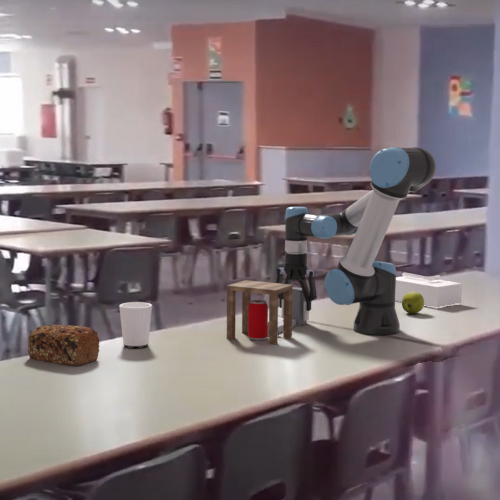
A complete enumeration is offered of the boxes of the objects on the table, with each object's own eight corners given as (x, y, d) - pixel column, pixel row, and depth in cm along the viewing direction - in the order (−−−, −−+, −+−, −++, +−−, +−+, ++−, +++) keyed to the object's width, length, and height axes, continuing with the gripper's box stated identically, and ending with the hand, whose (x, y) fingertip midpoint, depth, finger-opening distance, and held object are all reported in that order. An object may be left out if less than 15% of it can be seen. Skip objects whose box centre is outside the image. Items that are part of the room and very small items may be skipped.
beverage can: (268, 336, 294) (268, 299, 293) (266, 341, 288) (267, 303, 287) (248, 336, 295) (249, 299, 293) (246, 340, 289) (247, 302, 287)
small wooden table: (291, 337, 294) (292, 284, 292) (274, 344, 283) (275, 290, 281) (244, 331, 302) (245, 280, 300) (226, 338, 291) (226, 285, 289)
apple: (427, 312, 336) (428, 291, 335) (417, 316, 329) (418, 294, 328) (407, 310, 340) (408, 289, 339) (397, 314, 333) (398, 292, 332)
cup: (158, 344, 282) (158, 303, 281) (141, 351, 273) (141, 309, 272) (130, 341, 286) (130, 300, 285) (113, 347, 278) (112, 306, 276)
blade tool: (306, 322, 316) (307, 288, 315) (276, 335, 296) (276, 298, 295) (290, 321, 319) (291, 286, 318) (259, 333, 299) (260, 297, 298)
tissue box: (436, 309, 343) (437, 280, 342) (386, 300, 363) (387, 272, 361) (461, 305, 352) (462, 277, 351) (410, 296, 372) (411, 269, 370)
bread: (100, 360, 263) (100, 326, 261) (75, 368, 254) (74, 332, 252) (52, 351, 272) (51, 318, 271) (26, 359, 263) (25, 324, 262)
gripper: (328, 253, 310) (327, 320, 313) (274, 249, 320) (273, 313, 323) (319, 255, 304) (317, 323, 307) (264, 251, 314) (263, 317, 316)
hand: (295, 318), depth 315 cm, fingers open, 8 cm apart
